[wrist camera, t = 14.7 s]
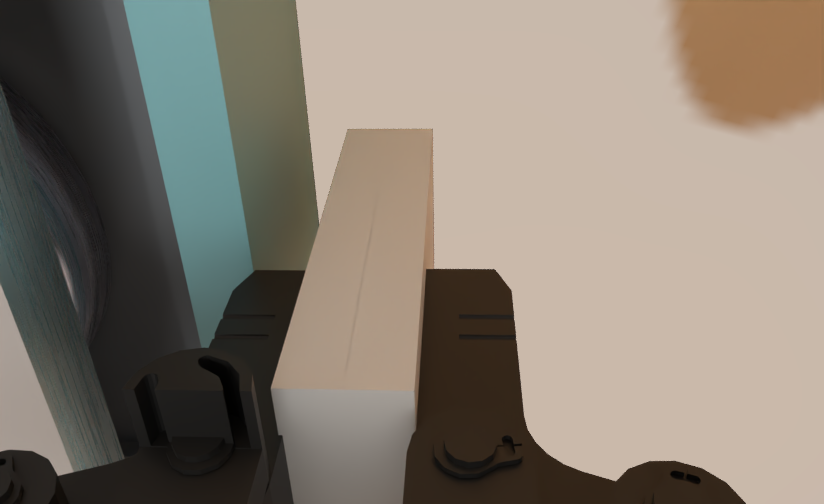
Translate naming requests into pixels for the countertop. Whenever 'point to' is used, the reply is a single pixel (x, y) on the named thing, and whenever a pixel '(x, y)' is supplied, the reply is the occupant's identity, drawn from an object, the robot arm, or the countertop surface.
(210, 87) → the tray
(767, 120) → the countertop surface
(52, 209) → the disc
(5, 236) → the box
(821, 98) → the countertop surface
